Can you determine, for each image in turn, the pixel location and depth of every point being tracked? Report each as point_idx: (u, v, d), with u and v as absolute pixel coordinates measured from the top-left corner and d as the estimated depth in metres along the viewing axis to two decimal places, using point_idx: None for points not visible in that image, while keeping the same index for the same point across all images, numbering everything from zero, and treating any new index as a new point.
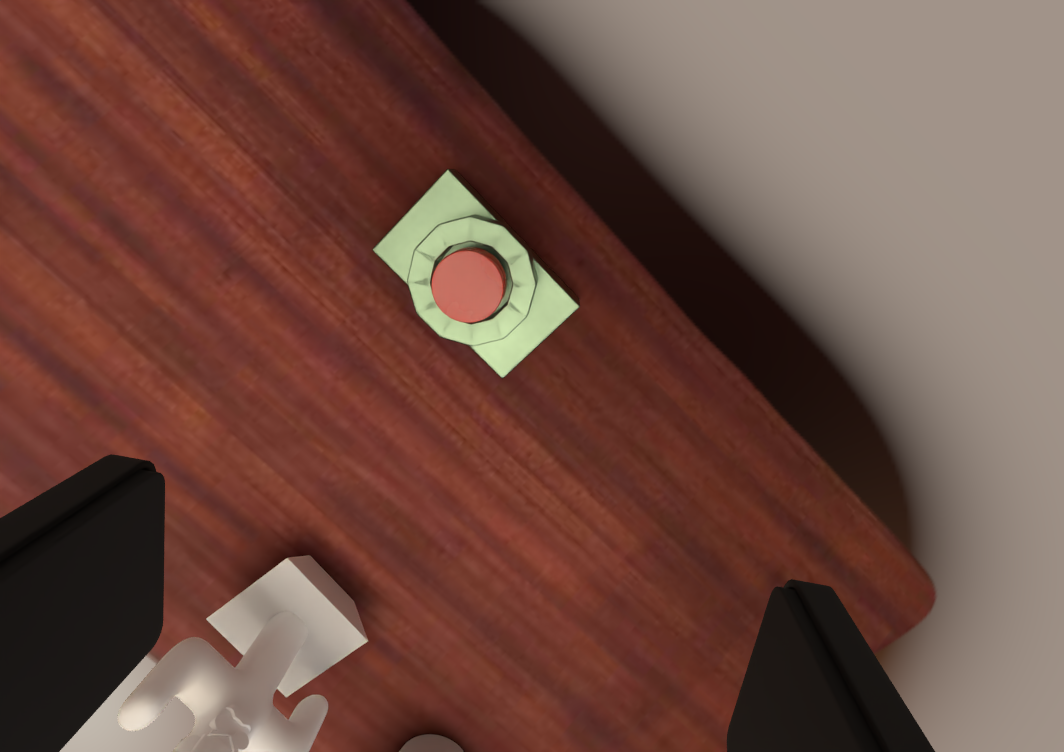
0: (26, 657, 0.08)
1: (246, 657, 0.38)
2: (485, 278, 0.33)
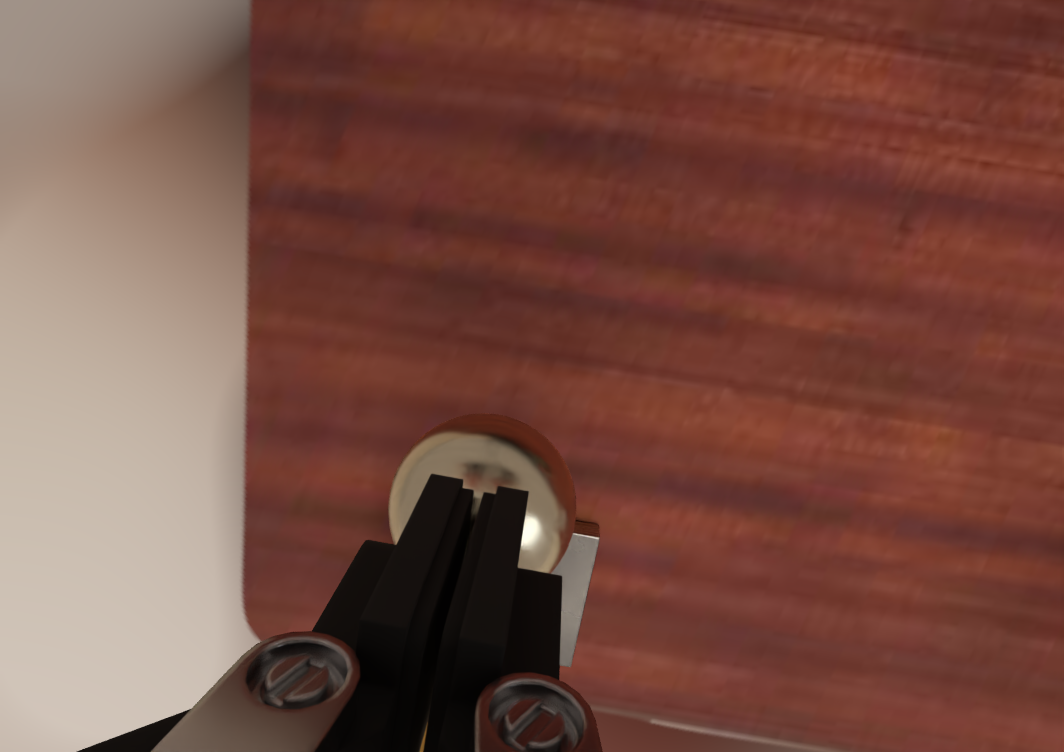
0: (432, 653, 0.09)
1: None
2: None
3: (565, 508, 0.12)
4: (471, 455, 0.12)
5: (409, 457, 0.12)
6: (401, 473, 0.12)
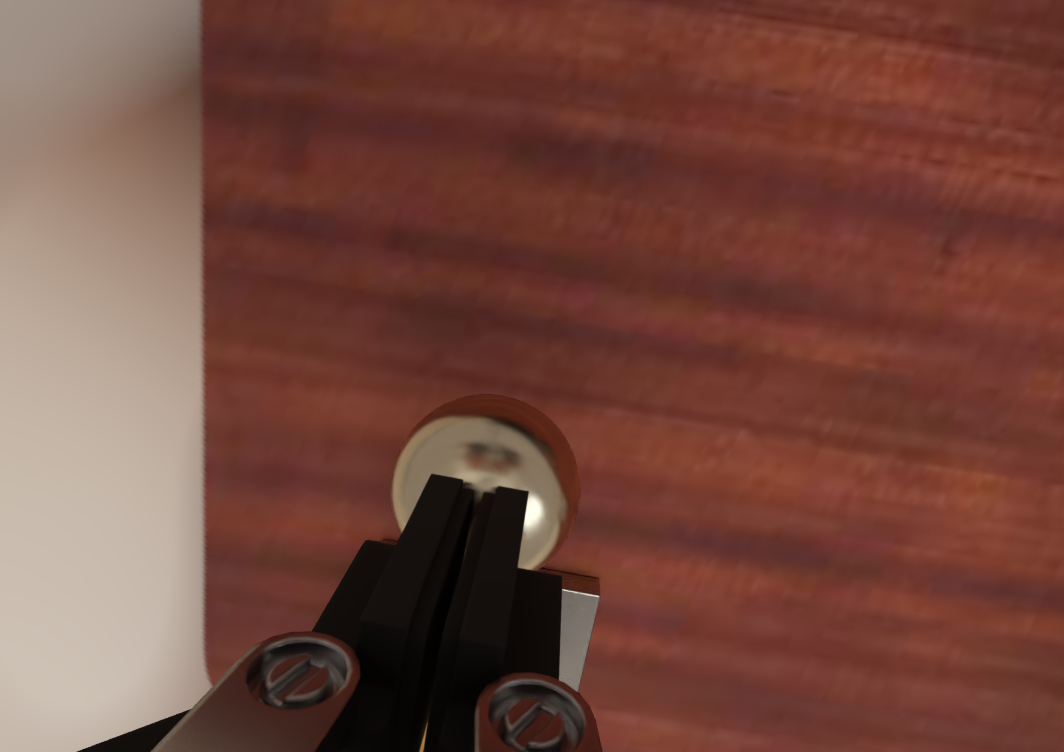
0: (433, 653, 0.09)
1: None
2: None
3: (571, 475, 0.12)
4: (480, 414, 0.12)
5: (415, 427, 0.13)
6: (407, 441, 0.12)
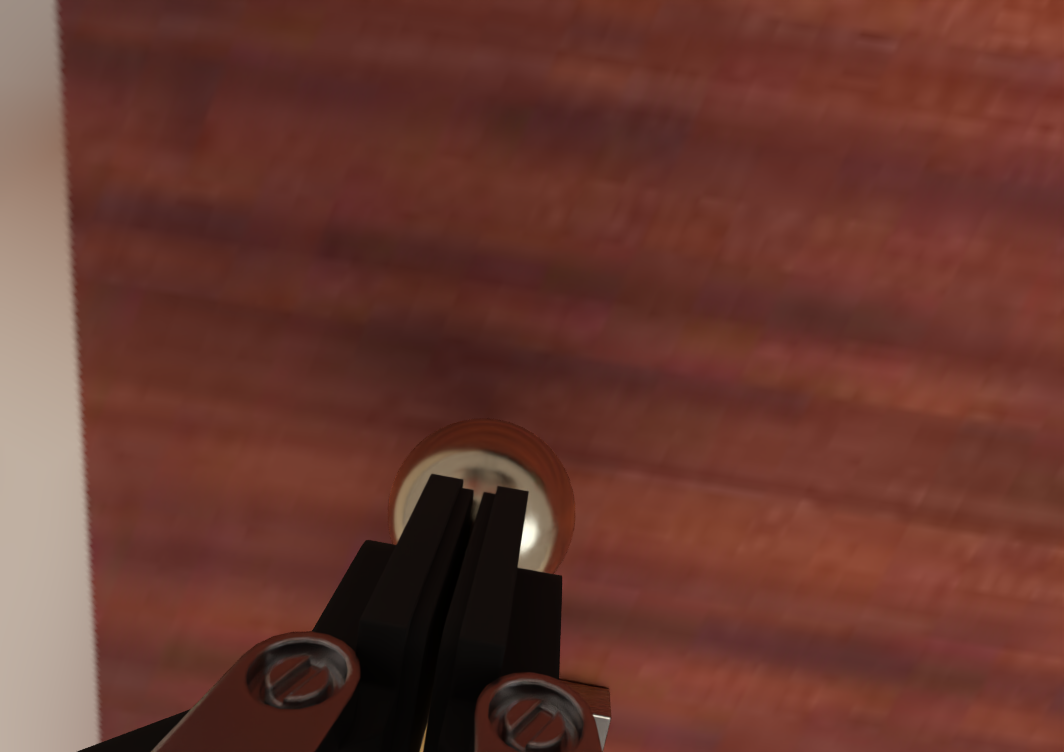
0: (432, 654, 0.09)
1: None
2: None
3: (567, 482, 0.13)
4: (483, 419, 0.13)
5: None
6: (411, 451, 0.13)
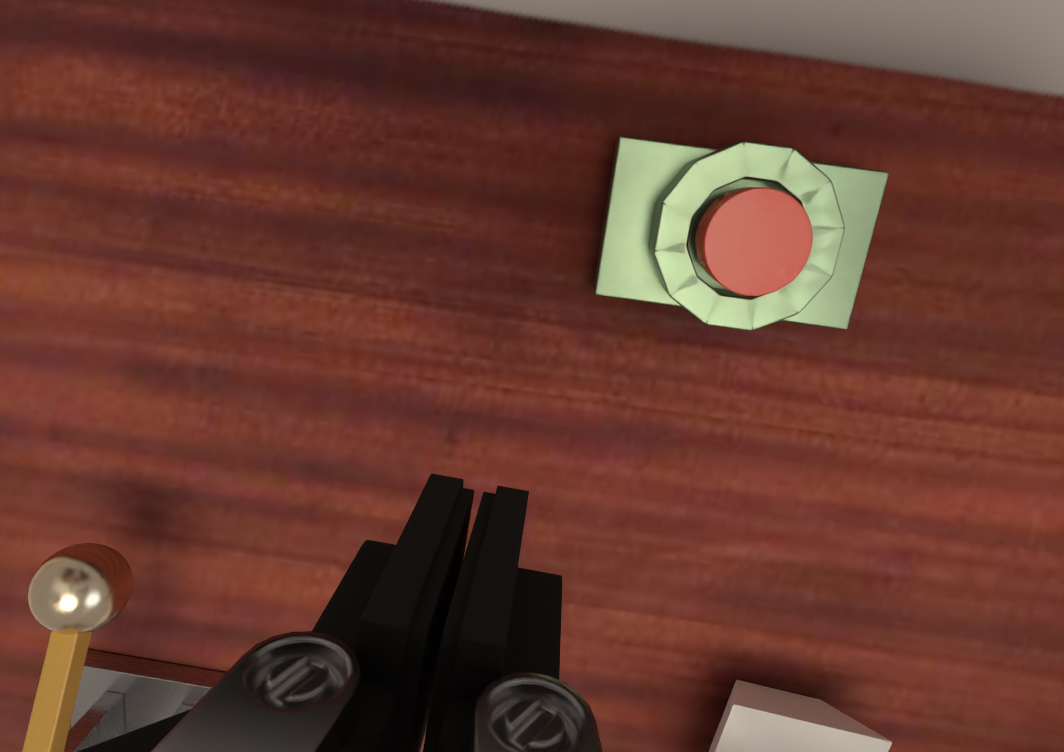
0: (433, 653, 0.09)
1: None
2: (774, 214, 0.22)
3: (117, 574, 0.27)
4: (79, 545, 0.28)
5: None
6: None
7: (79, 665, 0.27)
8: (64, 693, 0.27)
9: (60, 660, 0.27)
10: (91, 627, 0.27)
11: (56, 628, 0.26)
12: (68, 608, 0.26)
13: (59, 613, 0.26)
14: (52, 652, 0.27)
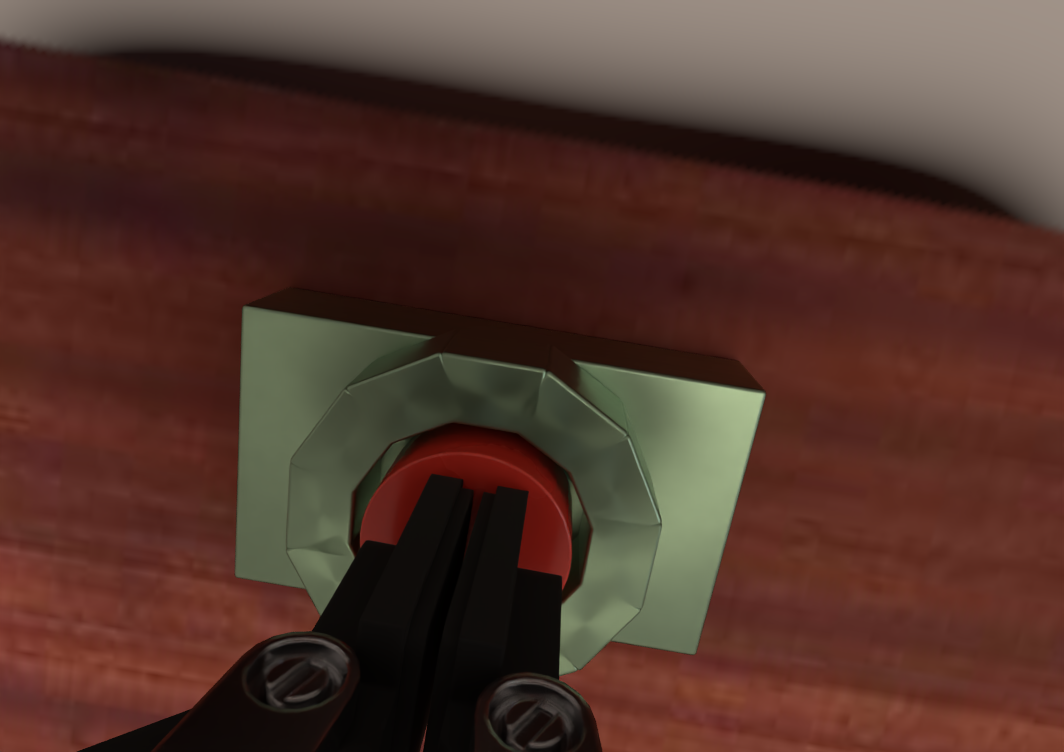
0: (432, 653, 0.09)
1: None
2: None
3: None
4: None
5: None
6: None
7: None
8: None
9: None
10: None
11: None
12: None
13: None
14: None
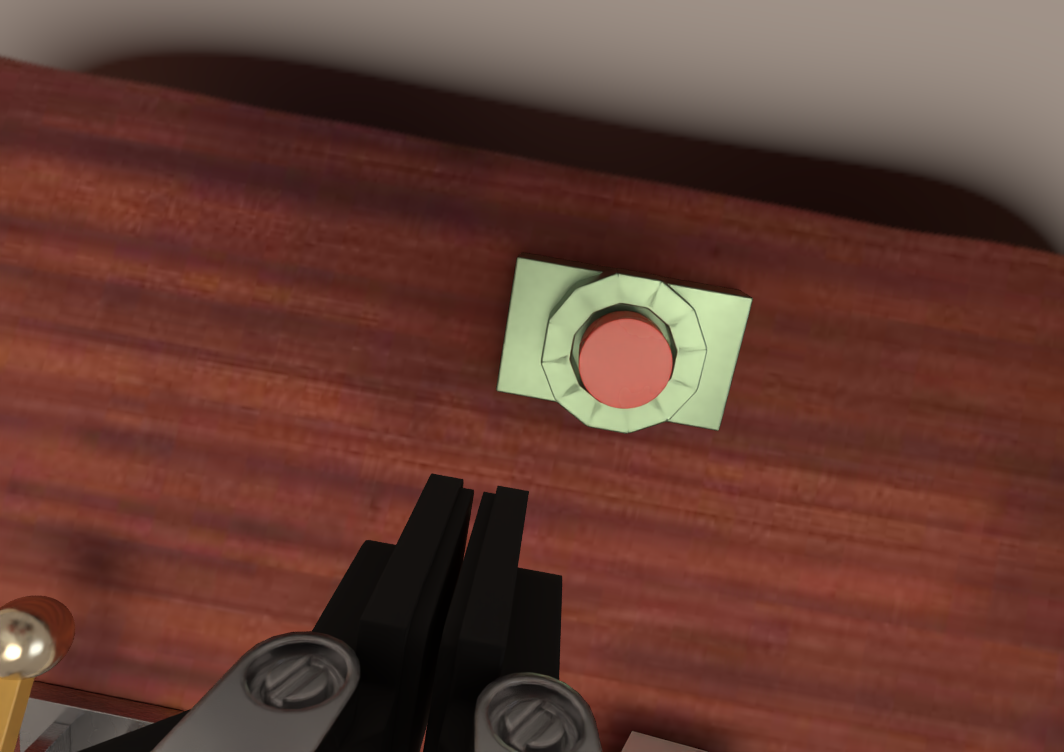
0: (432, 654, 0.09)
1: None
2: (639, 341, 0.26)
3: (59, 626, 0.30)
4: (26, 598, 0.31)
5: None
6: None
7: (21, 707, 0.30)
8: (6, 733, 0.30)
9: (4, 703, 0.30)
10: (33, 674, 0.30)
11: (0, 675, 0.29)
12: (11, 658, 0.29)
13: (3, 662, 0.29)
14: None
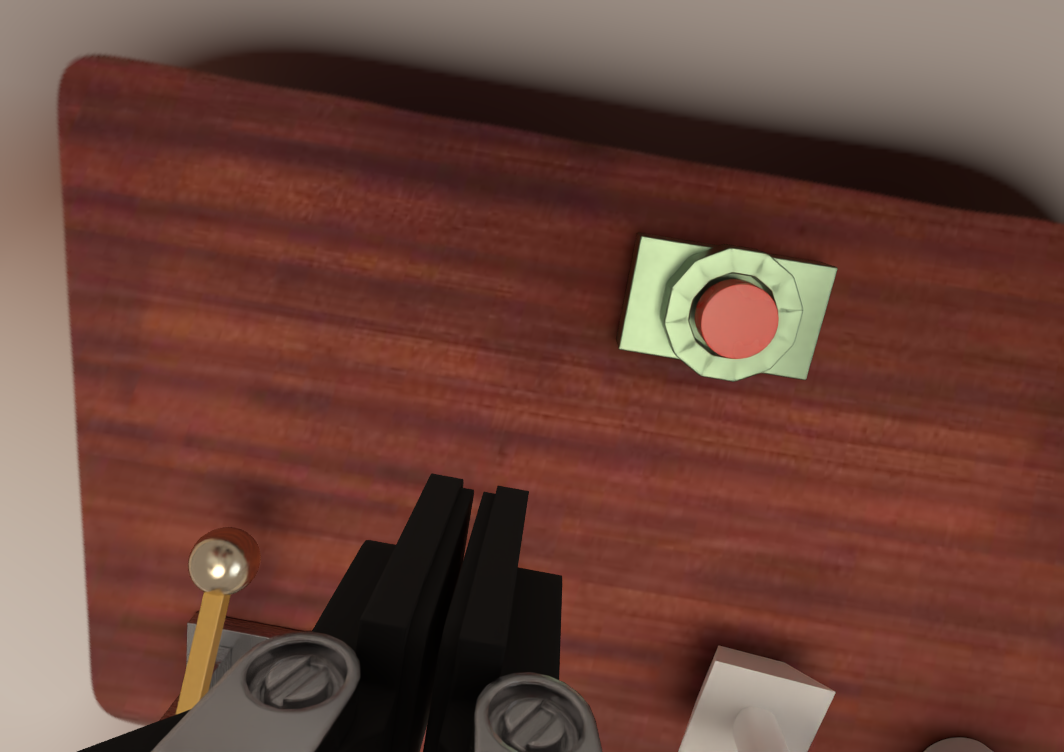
0: (432, 654, 0.09)
1: None
2: (751, 303, 0.31)
3: (253, 551, 0.36)
4: (224, 528, 0.36)
5: None
6: (198, 540, 0.36)
7: (222, 619, 0.36)
8: (214, 639, 0.36)
9: (211, 614, 0.36)
10: (234, 590, 0.36)
11: (211, 590, 0.35)
12: (221, 575, 0.35)
13: (215, 578, 0.35)
14: (205, 608, 0.36)
